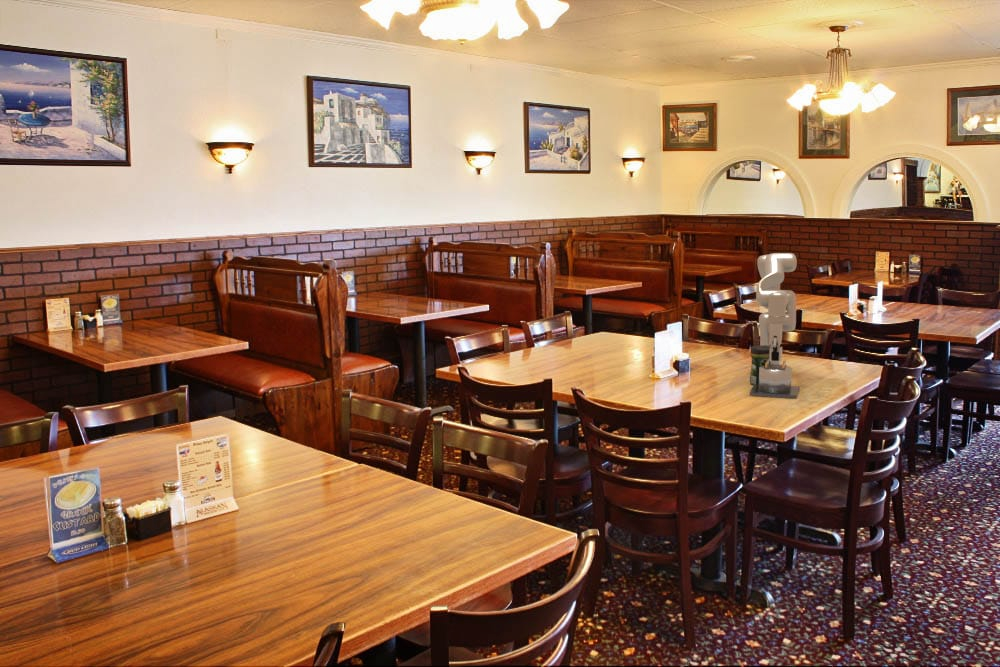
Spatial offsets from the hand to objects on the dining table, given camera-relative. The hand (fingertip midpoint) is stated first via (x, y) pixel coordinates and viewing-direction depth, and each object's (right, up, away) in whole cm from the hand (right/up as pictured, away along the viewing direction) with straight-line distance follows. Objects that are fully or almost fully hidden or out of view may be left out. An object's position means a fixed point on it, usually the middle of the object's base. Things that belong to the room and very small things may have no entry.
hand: (775, 359), depth 399 cm
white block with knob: (0, -1, 0) cm, 1 cm away
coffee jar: (-1, -13, +21) cm, 25 cm away
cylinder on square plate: (0, -15, +3) cm, 16 cm away
